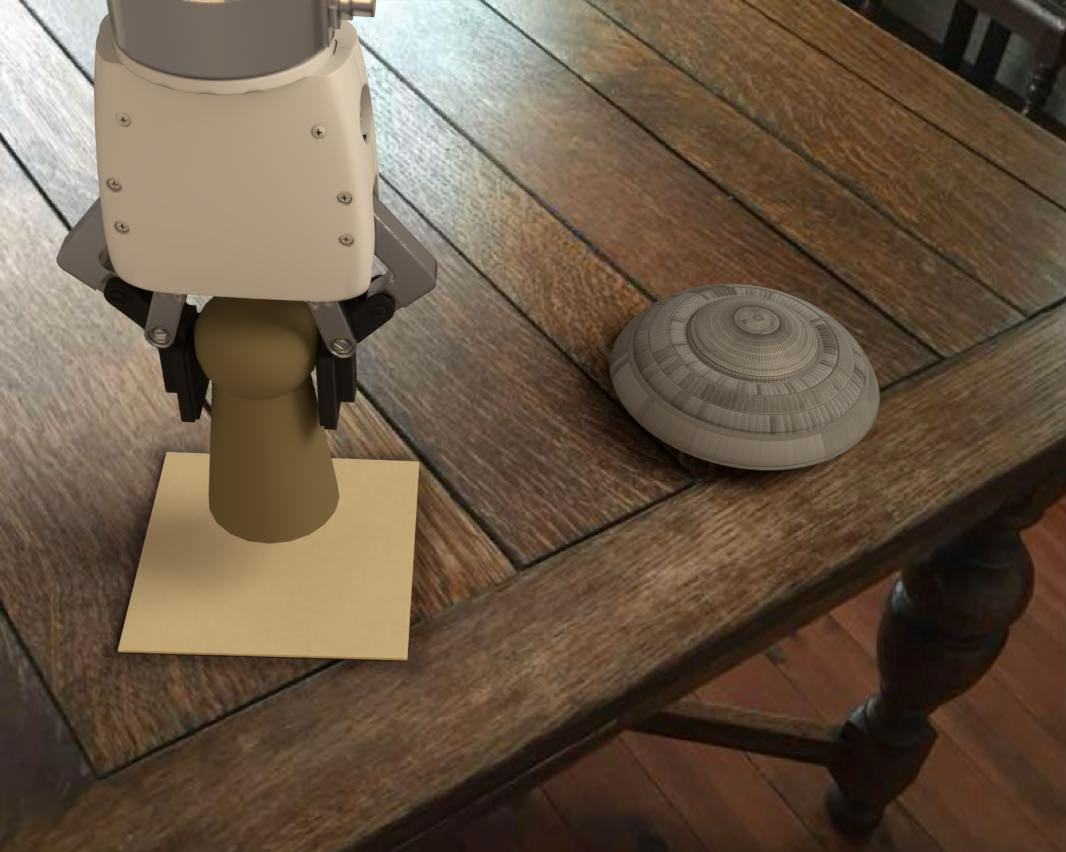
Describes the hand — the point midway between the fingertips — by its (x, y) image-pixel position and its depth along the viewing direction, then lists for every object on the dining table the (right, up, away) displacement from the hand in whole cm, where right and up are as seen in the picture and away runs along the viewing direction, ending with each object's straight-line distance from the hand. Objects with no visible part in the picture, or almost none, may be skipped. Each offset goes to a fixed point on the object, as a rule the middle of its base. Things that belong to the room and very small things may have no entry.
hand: (264, 401), depth 59 cm
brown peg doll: (0, -4, +4) cm, 6 cm away
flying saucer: (+23, +2, +17) cm, 29 cm away
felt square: (-1, -7, +7) cm, 10 cm away
